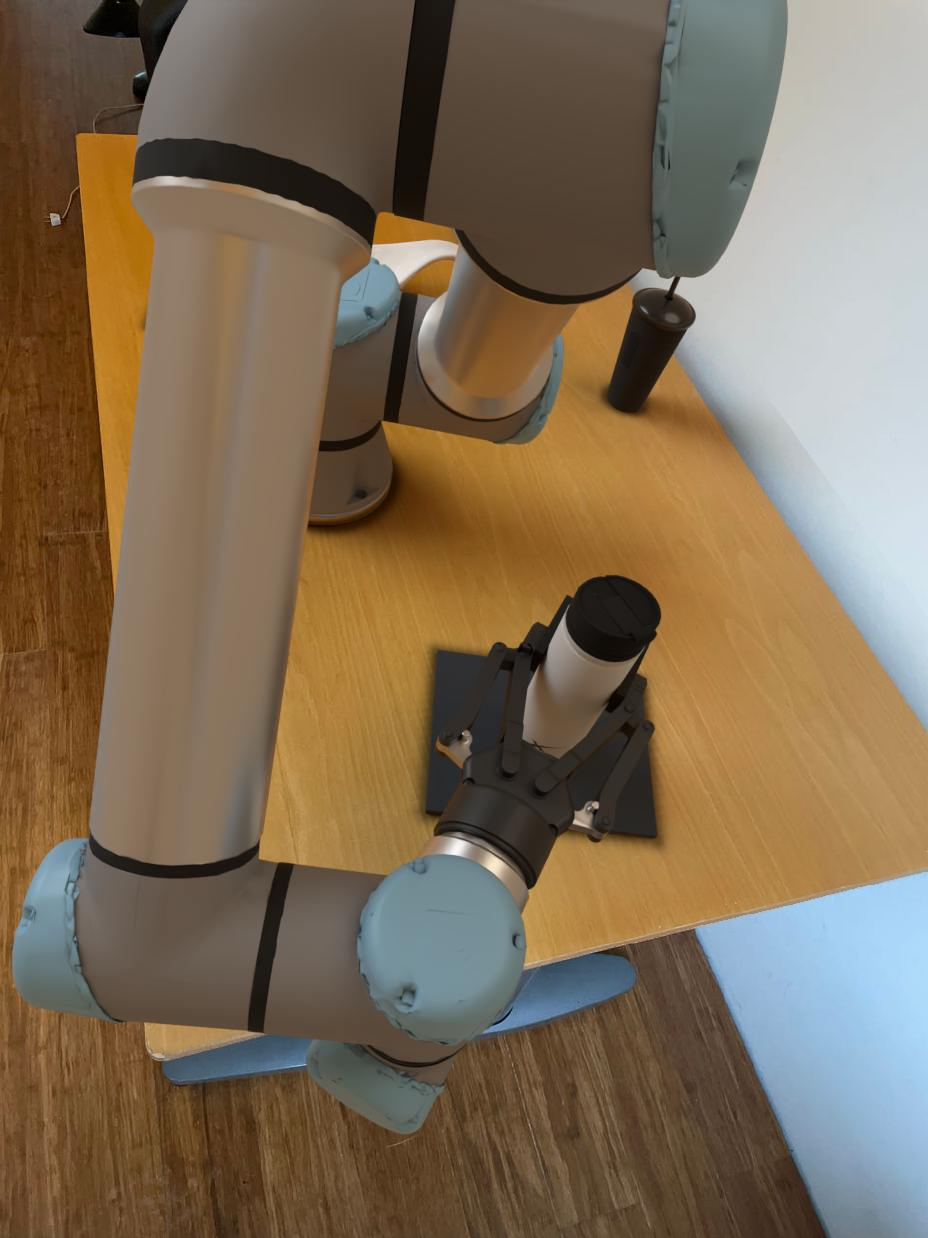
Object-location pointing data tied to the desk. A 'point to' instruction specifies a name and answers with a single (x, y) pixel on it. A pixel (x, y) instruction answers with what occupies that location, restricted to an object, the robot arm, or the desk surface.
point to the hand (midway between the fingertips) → (603, 626)
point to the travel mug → (588, 660)
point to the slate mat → (444, 773)
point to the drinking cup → (648, 344)
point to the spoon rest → (413, 256)
